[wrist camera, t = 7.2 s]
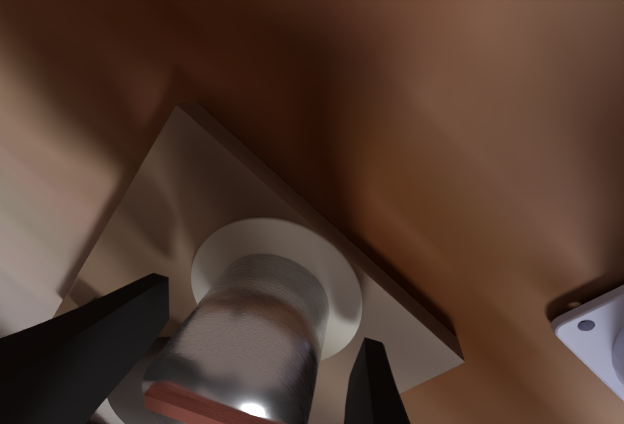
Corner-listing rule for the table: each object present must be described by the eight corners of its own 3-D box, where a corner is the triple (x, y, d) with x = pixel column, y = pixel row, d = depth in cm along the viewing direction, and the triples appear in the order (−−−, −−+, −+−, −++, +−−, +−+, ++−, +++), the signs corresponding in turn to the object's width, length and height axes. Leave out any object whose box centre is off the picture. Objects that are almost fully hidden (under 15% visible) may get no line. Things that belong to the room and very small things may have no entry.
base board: (196, 101, 11) (130, 110, 8) (457, 337, 13) (481, 413, 10) (69, 308, 17) (8, 354, 14) (255, 445, 19) (234, 510, 16)
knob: (343, 274, 11) (322, 403, 6) (315, 359, 13) (285, 499, 8) (223, 238, 11) (129, 337, 7) (214, 326, 13) (137, 444, 9)
